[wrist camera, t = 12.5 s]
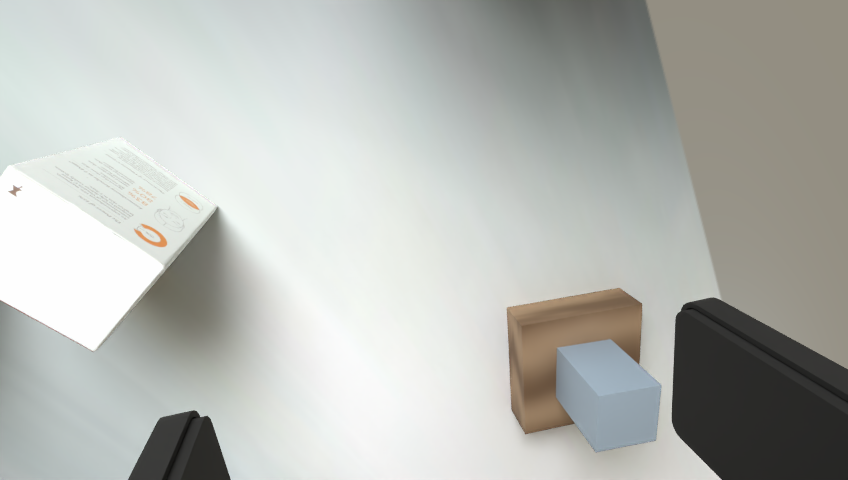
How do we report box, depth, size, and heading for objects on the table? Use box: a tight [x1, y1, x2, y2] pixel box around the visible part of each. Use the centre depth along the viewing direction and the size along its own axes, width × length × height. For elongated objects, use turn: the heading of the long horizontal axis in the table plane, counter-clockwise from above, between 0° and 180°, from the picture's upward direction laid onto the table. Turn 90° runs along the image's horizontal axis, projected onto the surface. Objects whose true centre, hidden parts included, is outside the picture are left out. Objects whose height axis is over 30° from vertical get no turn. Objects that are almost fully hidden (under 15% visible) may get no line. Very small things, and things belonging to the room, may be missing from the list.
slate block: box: [556, 339, 661, 452], centre depth 40 cm, size 5×5×7 cm
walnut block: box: [507, 288, 642, 434], centre depth 45 cm, size 11×11×4 cm
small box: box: [0, 137, 217, 352], centre depth 30 cm, size 8×6×13 cm
